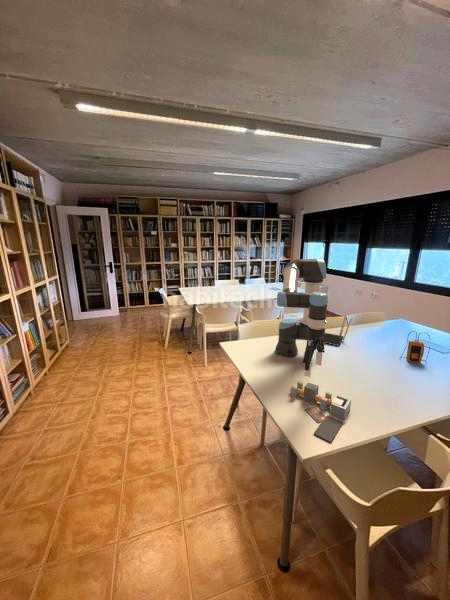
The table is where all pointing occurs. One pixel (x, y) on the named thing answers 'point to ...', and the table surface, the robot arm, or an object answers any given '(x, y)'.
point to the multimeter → (415, 350)
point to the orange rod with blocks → (316, 395)
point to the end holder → (341, 408)
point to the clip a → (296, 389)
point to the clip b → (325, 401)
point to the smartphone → (328, 429)
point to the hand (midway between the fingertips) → (312, 370)
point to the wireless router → (336, 338)
